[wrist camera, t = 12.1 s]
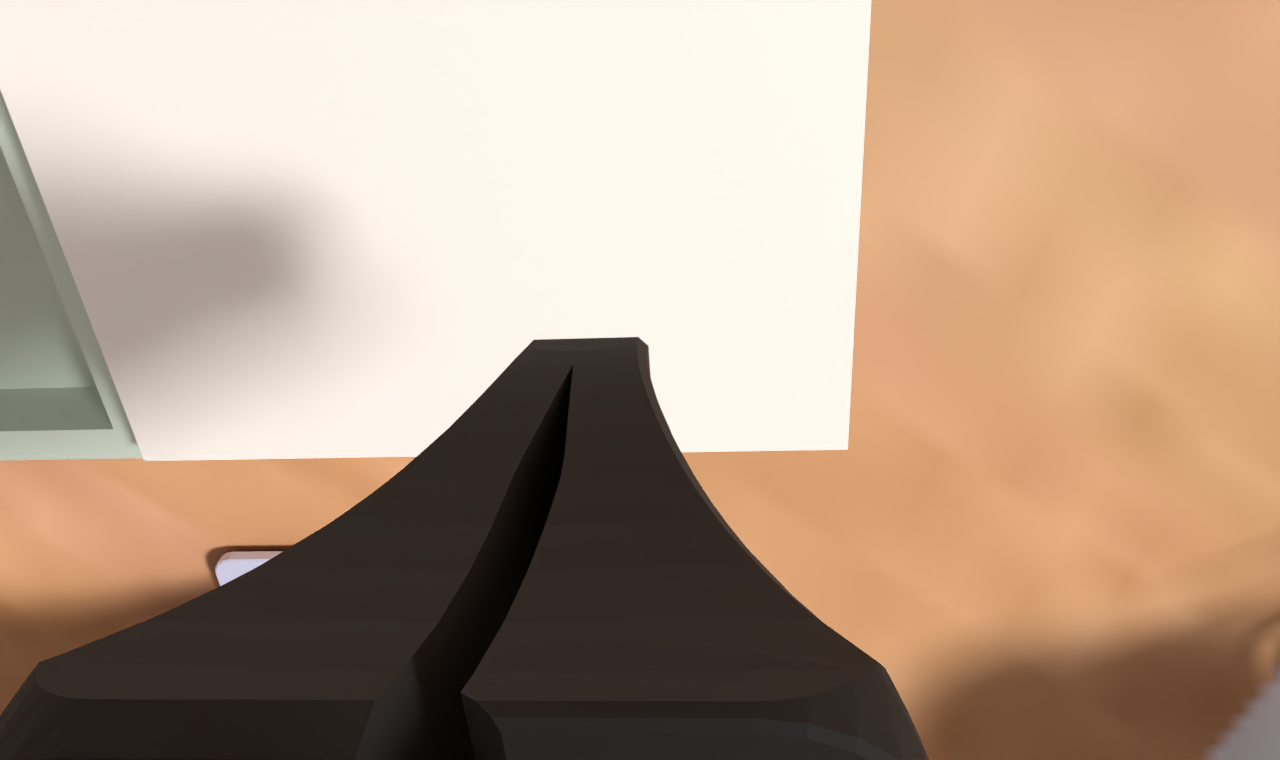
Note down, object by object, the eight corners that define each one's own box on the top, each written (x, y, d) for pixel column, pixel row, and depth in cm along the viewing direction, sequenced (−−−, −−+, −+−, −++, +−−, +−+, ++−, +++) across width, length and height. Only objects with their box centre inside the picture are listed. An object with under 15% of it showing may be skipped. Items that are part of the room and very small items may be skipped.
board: (833, 372, 24) (847, 449, 21) (201, 386, 25) (144, 461, 23) (858, -236, 18) (883, -229, 15) (12, -177, 19) (-97, -161, 16)
